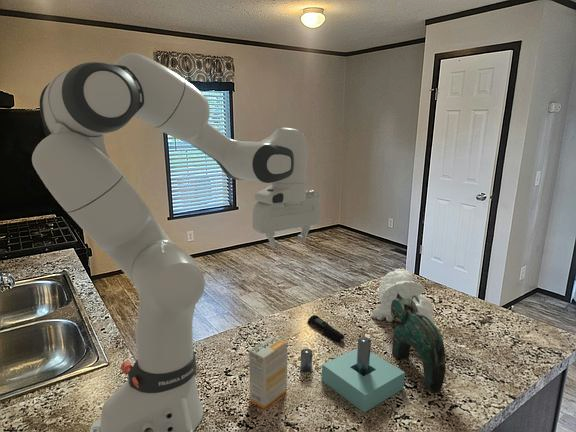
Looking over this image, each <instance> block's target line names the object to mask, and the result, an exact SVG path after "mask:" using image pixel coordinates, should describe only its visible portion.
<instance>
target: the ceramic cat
mask: <svg viewBox="0 0 576 432" xmlns="http://www.w3.org/2000/svg"><path fill="white" fill-rule="evenodd" d="M413 297H415V298H416V300H417V301H418V303H419V304H420V302H419V299H418V298H417V296H415V295H414V296H412V299H410V298H402V297H401V296H400V295H399V294H397V297H396V299H394V300H393V301H392V304H391V316H392V318H393V319H394V320H393V321H394V322H395V324H394V331H393V336H392V348H391V354H392V355H393V356H394V357H395V359H398V360H405V359H409V358H410V350H411V348H413V349H415V351H416V352H417V353H418V355H419V357H420V358H421V363H422V368H423V376H424V377H423V379H424V387H425V389H426V390H427V391H428V392H429V393H436V392H441V391H442V388H443V385H444V380H445V375H446V371H447V366H446V350H445V345H444V341H443V337H442V336H441V334H440V331H439V328H437V326H436V325H435V324H433V322H432V321H431V320H430V319H429V318H427V317H426V316H424V315H422V314H420V313H419V312H418V309H417V306H416V304H415V302H414V301H413Z"/></svg>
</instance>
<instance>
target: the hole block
mask: <svg viewBox="0 0 576 432" xmlns="http://www.w3.org/2000/svg"><path fill="white" fill-rule="evenodd" d="M357 351H358V347H357V348H355V349H353V350H350V351H348V352H346V353H344V354H342V355H340V356H339V355H338V356H337V357H335V358H333V359H331V360H329V361H327V362H324V363H322V365H321V382H323V383H324V384H325V385H327V386H328V387H330V389H332V390H333V391H335V392H336V393H337V394H339V395H340V396H341V397H342V398H344V399H345V400H346V401H348V402H349V403H350V404H352V405H353V407H356V408H357V409H359V410H360V411H361V412H362V413H367V412H368V411H369V410H371V409H373V408H375V407H377V406H378V405H380V404H381V403H383V402H384V401H386V400H388V399H389V398H391V397H393V396H394V395H396V394H397V393H399V392H401V391H402V390H404V388H405V387H404V386H405V375H406V373H405V371H404V370H402V369H400V368H399V367H397V366H396V365H394V364H392V363H390V362H388V361H387V360H385V359H383V358H382V357H380V356H378V355H377V354H375V353H374V352H371V351H370V362H369V374H367V375H365V376H363V375H361V374H360V373H358V372H357V371H356V367H357Z"/></svg>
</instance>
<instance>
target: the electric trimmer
mask: <svg viewBox="0 0 576 432" xmlns="http://www.w3.org/2000/svg"><path fill="white" fill-rule="evenodd" d="M307 323H308V325H312V326H314V327H316V328H317V329H318V330H321V332H322V333H323V335H325V336H327V337H329V338H330V339H333V340H335V341H336V342H340V341H342V340H344V339H345V335H344V334H343V333H341V332H340V331H339V330H337V329H336V328H334V327H333V326H332V325H330V323H327V322H326V321H325V320H323V319H322V318H320V316H319V315H311V316H310V317H309V318H308V319H307Z"/></svg>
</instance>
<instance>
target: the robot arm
mask: <svg viewBox="0 0 576 432" xmlns="http://www.w3.org/2000/svg"><path fill="white" fill-rule="evenodd" d="M210 109H211V108H210V104H209V100H208V99H207V98H206V96H205V95H204V94H203V93H202V92H201V91H200V90H199V89H198V88H197V87H196V86H195V85H194V84H193V83H190V82H189V81H188V80H187V79H185V78H184V77H183V76H181V75H180V74H178V73H176V72H175V71H173V70H172V69H170V68H168V67H166V66H165V65H163V64H161V63H159V62H157V61H155V60H154V59H152V58H149V57H147V56H146V55H144V54H140V53H136V52H130V53H126V54H124V55H122V56H120V57H119V58H118V59H117V60H116V61H115V62H114V63H113V64H112V63H111V64H110V63H106V62H99V61H97V62H96V61H95V62H94V61H92V62H83V63H81V64H77V65H75V66H74V67H72V68H71V69H68V70H65V71H63V72H61V73H59V74H58V75H57V76H55V77H53V79H52V80H51V81H50V82H48V84H47V85H46V86H44V88H43V89H42V91H41V94H40V97H39V112H40V117H41V119H42V125H43V130H44V135H45V138H43V139H42V140H41V141H40V142H39V143H37V145H36V146H35V149H34V150H33V152H32V154H31V155H32V156H31V162H32V166H33V168H34V170H35V171H36V174H37V175H38V176H39V179H40V180H41V181H42V182H43V184H44V186H45V188H46V189H48V191H49V192H50V194H51V196H53V198H54V199H55V201H57V203H58V204H59V205H60V206H61V207H62V209H63V210H64V211H65V212H66V213H67V214H68V215H69V216H70V217H71V219H72V220H73V221H74V222H75V223H76V224H77V225H78V226H79V227H80V228H81V229H82V230H83V232H84V233H85V234H86V235H87V236H88V238H90V239H91V240H92V241H93V242H94V244H95V245H96V246H97V247H98V248H99V249H100V250H101V251H102V252H103V253H105V255H107V257H109V259H110V260H111V261H113V262H114V263H115V265H117V267H118V268H119V269H120V270H121V271H122V272H123V273H124V274H125V276H126V277H127V278H128V279H129V280H130V281H131V282H132V284H133V285H134V286H135V288H136V292H137V295H138V299H139V304H138V305H139V308H138V317H137V322H136V324H135V326H134V331H135V344H136V361H135V363H134V364H133V365H132V363H131V361H129V360H126V361H123V362H122V363H121V365H120V369H121V371H122V373H123V374H124V375H127V380H126V382H124V383H123V384H122V385H121V386H120V387H119V388H118V389H117V390H116V391H115V392H114V393H113V394H111V395H110V397H108V398H107V399H106V400H105V402H104V403H103V407H102V409H101V413H100V417H99V418H98V419H96V420H94V421H93V423H92V424H91V426H90V428H89V432H194V431H195V430H196V428H197V427H198V425H200V423H201V421H202V419H203V417H204V406H203V404H202V401H201V399H200V397H199V393H198V387H197V382H196V376H197V359H196V352H195V351H194V342H193V341H194V336H193V319H194V312H195V308H196V305H197V303H198V302H199V301H200V299H201V298H202V296H203V294H204V290H205V286H206V284H205V283H206V282H205V277H204V274H203V271H202V270H201V268H200V266H199V264H198V263H197V261H196V260H195V259H194V258H193V257H192V256H191V255H190V254H189V253H187V252H186V251H184V250H183V249H182V248H181V247H179V246H178V245H177V244H176V243H175V242H173V240H172V239H171V238H170V237H169V236H168V235H167V233H166V232H165V230H164V229H163V228H162V225H160V223H159V221H158V220H157V219H156V217H155V215H154V214H153V213H152V209H151V208H150V207H149V206H148V204H147V203H146V202H145V201H144V199H143V197H141V195H140V194H139V193H138V192H137V190H136V189H135V188H134V187H133V185H132V184H131V183H130V182H129V180H128V178H126V176H125V175H124V174H123V172H122V171H121V170H120V169H119V167H117V166H116V163H114V162H113V160H111V158H110V155H109V154H108V151H107V149H106V146H105V145H106V144H105V135H107V134H110V133H113V132H116V131H119V130H120V129H122V128H123V127H124V126H126V125H127V124H128V123H130V121H131V120H132V118H134V117H135V118H137V119H140V120H142V121H143V122H144V123H146V124H148V125H149V126H152V128H154V129H156V130H158V131H160V132H162V133H164V134H166V135H168V136H170V137H172V138H174V139H177V140H180V141H183V142H185V143H188V144H190V145H191V146H192V147H194V148H196V149H198V150H199V151H200V152H202V153H203V154H205V155H206V156H208V157H209V158H211V159H213V161H215V162H216V163H217V164H218V166H219V167H220V169H221V170H222V171H223V173H224V174H225V175H226V176H227V177H228V178H230V179H233V180H239V181H248V182H253V183H260V184H271V185H269V186H267V187H265V188H264V189H261V190H259V191H257V192H255V194H254V200H255V201H257V202H256V203H255V204H254V207H253V209H252V229H253V230H254V231H255V232H256V233H259V234H263V235H264V234H265V236H266V238H267V239H268V241H269V246H268V247H269V248H271V249H276V248H277V249H278V247H279V246H278V245H279V241H278V240H276V239H275V238H274V237H275V235H276V234H275V232H280V231H286V230H292V229H295V228H296V229H297V228H301V232H300V234H297V241H298V242H299V243H305V242H306V241H307V236H308V233H309V232H310V229H311V226H314V225H318V224H320V222H321V220H322V211H321V202H320V199H321V198H320V197H321V196H320V193H319V192H317V191H316V190H314V189H313V190H307V177H306V170H307V167H308V146H307V145H308V144H307V139H306V135H305V133H304V132H302V131H301V130H299V129H296V128H290V127H278V128H276V129H275V130H274V132H273V133H272V134H271V135H269V136H268V137H266V138H265V139H261V140H260V141H247V140H240V139H232V138H230V137H228V136H226V135H225V134H224V133H222V132H220V131H219V130H218V129H217V128H216V127H214V126H213V125H212V124H210V123H209V119H210V113H211V112H210V111H211V110H210Z"/></svg>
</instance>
